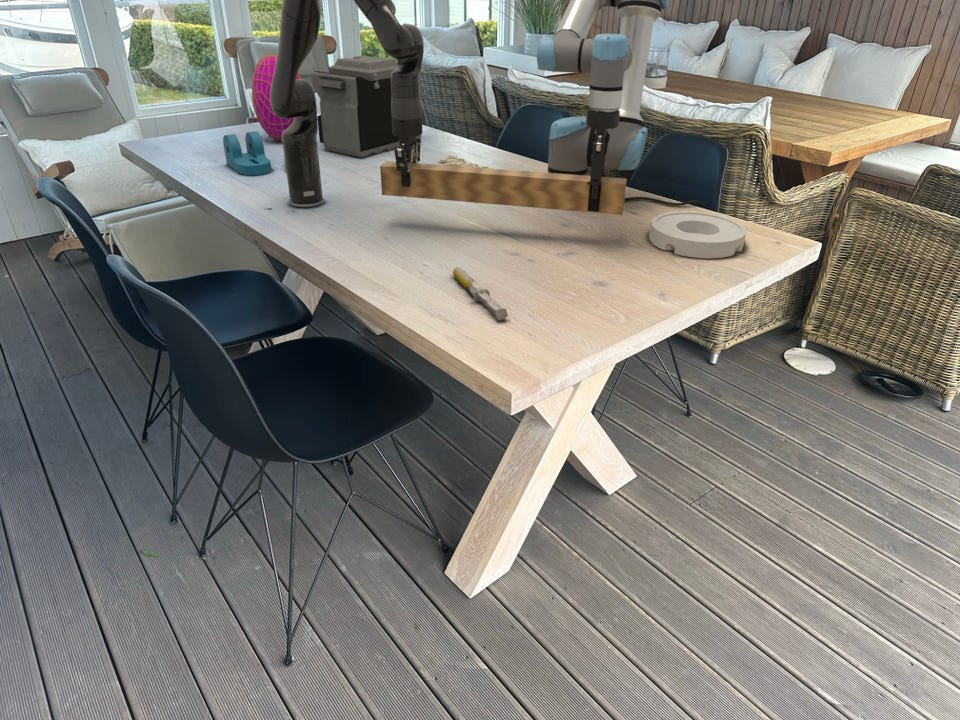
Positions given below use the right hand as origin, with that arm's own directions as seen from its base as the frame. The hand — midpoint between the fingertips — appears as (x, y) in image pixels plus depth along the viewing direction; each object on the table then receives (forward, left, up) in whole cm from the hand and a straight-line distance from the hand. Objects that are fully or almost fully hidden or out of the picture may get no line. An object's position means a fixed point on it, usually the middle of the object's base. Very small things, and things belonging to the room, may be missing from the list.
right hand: (594, 206), depth 169 cm
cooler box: (+104, -59, -9) cm, 120 cm away
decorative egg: (+139, -52, -9) cm, 148 cm away
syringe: (+11, +43, -9) cm, 45 cm away
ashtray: (-24, -12, -9) cm, 28 cm away
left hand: (+47, +10, +2) cm, 48 cm away
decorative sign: (+59, -48, -9) cm, 77 cm away
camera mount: (+122, -14, -9) cm, 123 cm away
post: (+23, +5, -1) cm, 24 cm away
